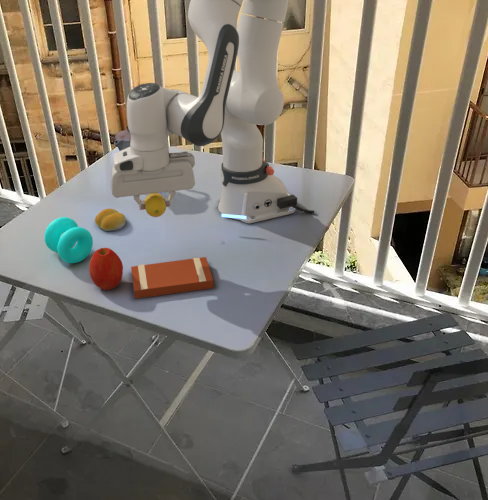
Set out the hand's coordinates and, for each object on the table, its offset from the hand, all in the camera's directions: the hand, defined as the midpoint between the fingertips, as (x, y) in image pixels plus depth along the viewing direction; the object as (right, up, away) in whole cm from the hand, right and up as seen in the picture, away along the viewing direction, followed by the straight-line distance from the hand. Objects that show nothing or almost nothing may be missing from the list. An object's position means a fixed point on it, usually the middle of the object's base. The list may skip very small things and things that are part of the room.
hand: (155, 207), depth 139 cm
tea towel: (+4, -18, -1) cm, 19 cm away
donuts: (-23, -12, +12) cm, 28 cm away
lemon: (0, -2, +1) cm, 2 cm away
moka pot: (-7, +11, +45) cm, 47 cm away
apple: (-11, -19, 0) cm, 22 cm away
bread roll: (-14, -3, +24) cm, 28 cm away
